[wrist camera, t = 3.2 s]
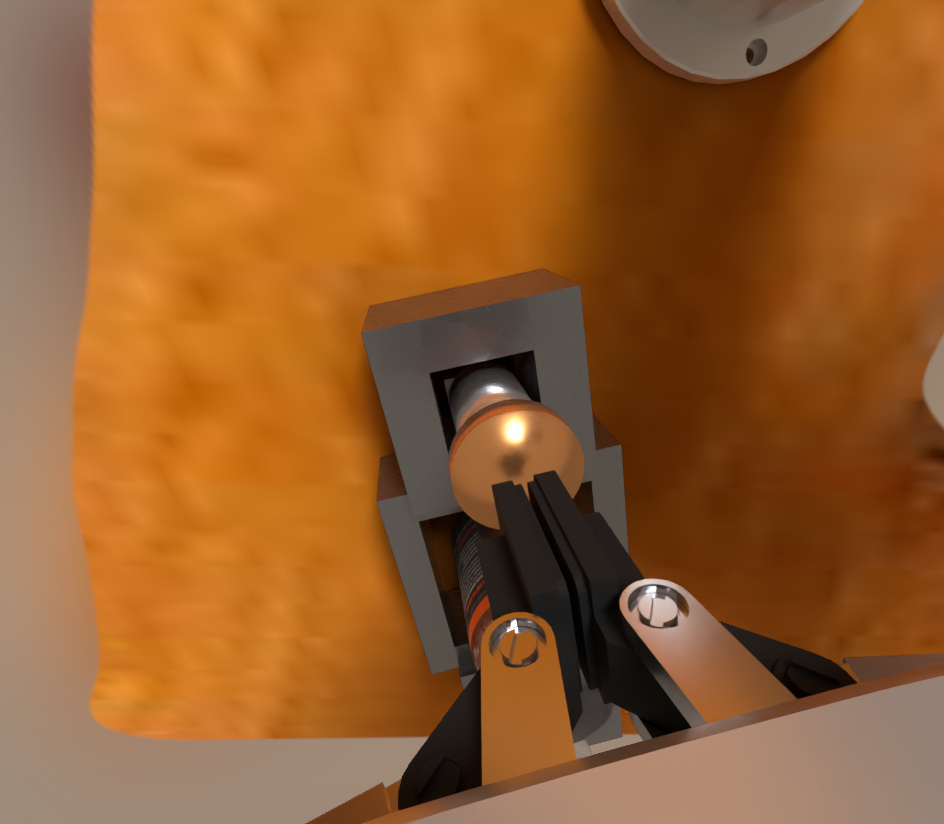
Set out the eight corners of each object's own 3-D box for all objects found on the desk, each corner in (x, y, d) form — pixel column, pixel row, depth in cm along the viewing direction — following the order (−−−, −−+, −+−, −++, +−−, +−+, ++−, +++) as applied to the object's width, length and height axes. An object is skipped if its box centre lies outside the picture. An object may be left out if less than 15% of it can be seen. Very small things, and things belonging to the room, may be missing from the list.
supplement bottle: (452, 568, 28) (482, 780, 18) (446, 479, 26) (475, 663, 15) (553, 555, 29) (639, 753, 18) (556, 467, 26) (655, 636, 16)
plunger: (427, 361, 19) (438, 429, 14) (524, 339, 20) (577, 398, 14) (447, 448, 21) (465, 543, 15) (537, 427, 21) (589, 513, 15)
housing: (336, 313, 22) (318, 342, 17) (575, 261, 22) (620, 276, 18) (453, 697, 32) (461, 779, 28) (613, 656, 33) (647, 730, 28)
